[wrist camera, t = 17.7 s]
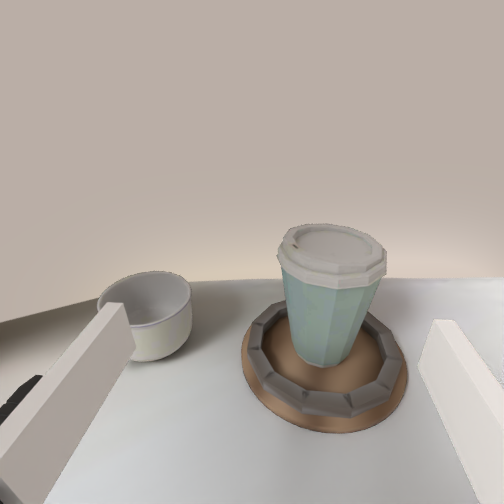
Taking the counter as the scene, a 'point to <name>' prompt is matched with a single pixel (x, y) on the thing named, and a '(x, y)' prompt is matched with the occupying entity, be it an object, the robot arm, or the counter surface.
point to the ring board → (324, 376)
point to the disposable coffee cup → (328, 288)
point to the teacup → (153, 311)
